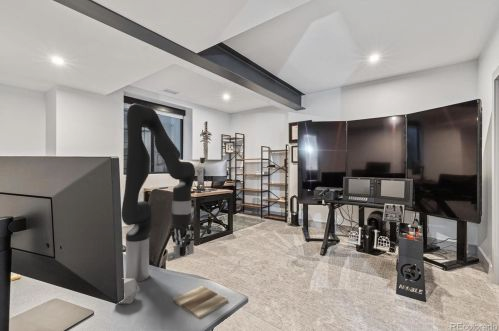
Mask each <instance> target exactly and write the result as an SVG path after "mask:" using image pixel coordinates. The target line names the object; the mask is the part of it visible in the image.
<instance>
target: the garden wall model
mask: <svg viewBox="0 0 499 331" xmlns="http://www.w3.org/2000/svg"><path fill="white" fill-rule="evenodd" d="M194 244H195V240H191V243H190V245H188V246H186V254H185V255H184V256H180V244H179V245H177V246H176V245H173V246H172V248H173V251H171V252H167V253H165V254H166V261H167V262H171V261H174V260H177V259H180V258H186V257H187V256H189V255H193V254H194V251H195V250H194V248H195V246H194Z"/></svg>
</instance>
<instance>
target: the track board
mask: <svg viewBox="0 0 499 331" xmlns="http://www.w3.org/2000/svg"><path fill="white" fill-rule="evenodd" d="M228 299H229V298H226V297H224V296H222V295H221V294H218V293H217V292H215V291H213V290H211V289H209V288H208V287H206V286H204V285H200V286H198V287H196V288H194V289H192V290H189V291H188V292H186V293H184V294H181V295H179V296H177V297H174V298H173V303H176V304H177V305H179V306H180V307H181V308H183V309H184V310H185V311H187V312H189V313H190V314H191V315H193V316H194V317H196V318H198V319H201V318H203V317H205V316H206V315H207V314H210V313H211V312H213V311H215V310H216V309H218V308H219V307H221V306H223V305H225V304H227V303H228V302H229V300H228Z"/></svg>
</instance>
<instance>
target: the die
mask: <svg viewBox="0 0 499 331" xmlns="http://www.w3.org/2000/svg"><path fill="white" fill-rule="evenodd" d="M123 279H124V293H125V299H124V300H123V301H122V302H120V303H119V304H120V305H124V304H127V305H128V304H129V305H131V304H132V303H133V301H134V300H135V299H136V297H137V295H138V293H139V292H140V291H141V290H140V289H141V288H140V287H139V285H138V282H136V280H135V279H126V278H123ZM119 304H118V305H119Z"/></svg>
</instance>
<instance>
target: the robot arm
mask: <svg viewBox="0 0 499 331" xmlns="http://www.w3.org/2000/svg"><path fill="white" fill-rule="evenodd" d="M143 128H146V129H147V130H149V132H151V134H152V135H153V137H154V146H155V149H156V151H157V153H158V154H159V155H160V157H161V159H163V161H164V164H165V167H166V169H167V170H166V171H167V172H168V174H169V176H170V177H171V178H172V179H174V180H179V182H178V184H177V185H174V187H173V189H172V204H171V224H172V226H173V227H170V228H169V231H170V235H171V239H172V242H173V243H175V246H177V245H179V244H180V256H184V255H185V254H186V250H187V249H186V248H187V247H186V246H188V245H190V243H191V241H193V240H192V239H193V238H194V233H193V232H192V233H191V231H190V225H191V223H192V188H193V184H194V180H195V176H196V168H195V166H194V164H193V163H192V162H190V161H180V160H179V159H180V158H181V152H180V151H179V149H178V147H177V146H176V144H175V143H174V142H173V141H172V139H171V138H170V136H169V135H168V133H167V132H166V130H165V127H164V125H163V123H162V121H161V119H160V117H159V115H158V113H157V112H156V110H155V109H154V108H152V107H149V106H146V105H142V104H138V103H132V104H130V105H129V107H128V108H127V111H126V129H127V130H126V132H127V149H126V150H127V152H126V153H127V154H126V164H125V182H124V184H125V185H124V194H123V201H122V205H121V206H122V207H121V220H122V222H123V223H124V224H125V225H126V226H132V225H133V227H132V228H130V230H128V231H127V233H126V234H125V279H135V280H136V282H137V283H138V282H142V281H145V280H147V279H148V278H149V276H150V234H151V231H152V219H153V218H152V216H153V214H152V213H153V212H152V206H151V205H150V203H149V202H147V201H143V200H142V201H139V196H140V192H141V190H142V188H143V186H144V184H145V182H146V180H147V178H148V177H149V175H150V168H151V158H150V157H151V156H150V154H149V151H148V149H147V147H146V144H145V142H144V140H143Z"/></svg>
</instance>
